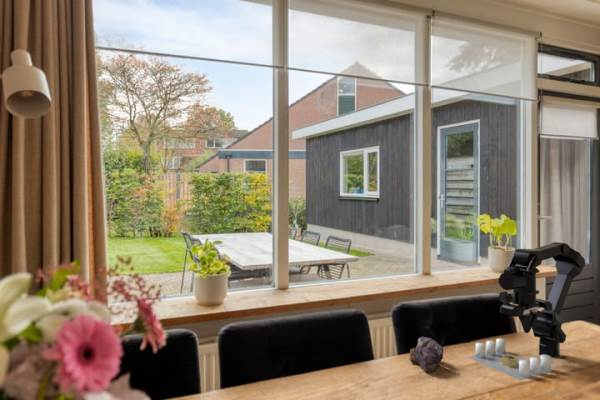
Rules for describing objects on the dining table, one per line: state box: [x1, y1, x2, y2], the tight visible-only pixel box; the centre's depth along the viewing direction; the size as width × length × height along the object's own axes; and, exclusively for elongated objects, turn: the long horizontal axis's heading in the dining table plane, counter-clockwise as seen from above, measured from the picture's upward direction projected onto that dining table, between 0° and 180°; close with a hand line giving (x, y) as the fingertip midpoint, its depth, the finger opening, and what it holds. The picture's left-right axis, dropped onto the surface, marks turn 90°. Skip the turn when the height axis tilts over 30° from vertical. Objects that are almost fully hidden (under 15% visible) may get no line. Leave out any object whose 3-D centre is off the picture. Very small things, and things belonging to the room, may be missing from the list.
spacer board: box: [468, 338, 555, 381], centre depth 140 cm, size 16×20×5 cm
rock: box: [409, 336, 444, 373], centre depth 141 cm, size 12×9×10 cm
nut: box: [502, 354, 519, 367], centre depth 140 cm, size 4×5×2 cm
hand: (526, 332), depth 143 cm, fingers closed
